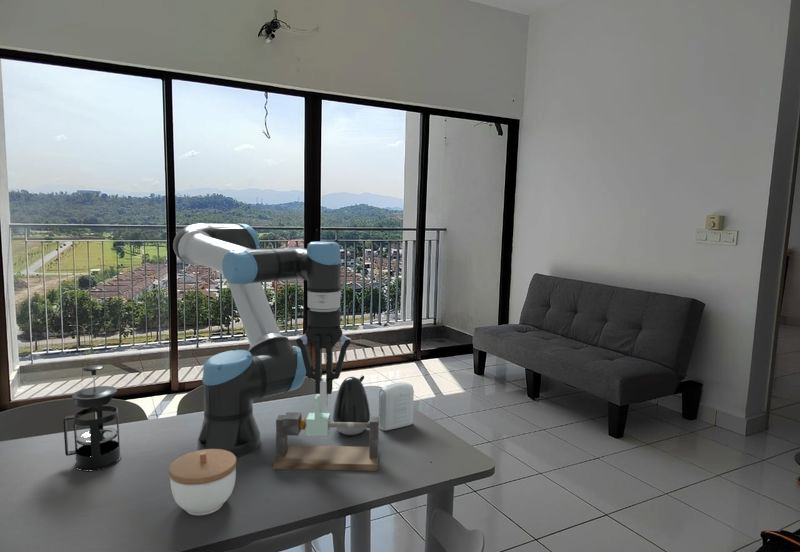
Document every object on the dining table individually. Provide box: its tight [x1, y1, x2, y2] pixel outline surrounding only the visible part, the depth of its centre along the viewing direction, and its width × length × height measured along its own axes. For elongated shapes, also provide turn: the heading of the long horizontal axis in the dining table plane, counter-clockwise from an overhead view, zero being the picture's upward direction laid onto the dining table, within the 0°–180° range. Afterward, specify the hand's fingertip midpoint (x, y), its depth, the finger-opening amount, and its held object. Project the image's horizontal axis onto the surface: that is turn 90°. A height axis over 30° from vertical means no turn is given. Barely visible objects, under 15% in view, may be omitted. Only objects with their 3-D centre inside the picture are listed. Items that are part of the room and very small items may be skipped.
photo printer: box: [378, 381, 415, 432], centre depth 144 cm, size 10×4×12 cm, turn 123°
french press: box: [62, 364, 122, 472], centre depth 120 cm, size 12×9×23 cm
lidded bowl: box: [168, 449, 237, 517], centre depth 104 cm, size 13×13×11 cm
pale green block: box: [305, 393, 331, 437], centre depth 123 cm, size 5×4×9 cm
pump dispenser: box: [332, 374, 371, 436], centre depth 140 cm, size 10×10×15 cm
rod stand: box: [272, 411, 380, 472], centre depth 124 cm, size 24×9×11 cm, turn 90°
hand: (324, 406), depth 123 cm, fingers closed
